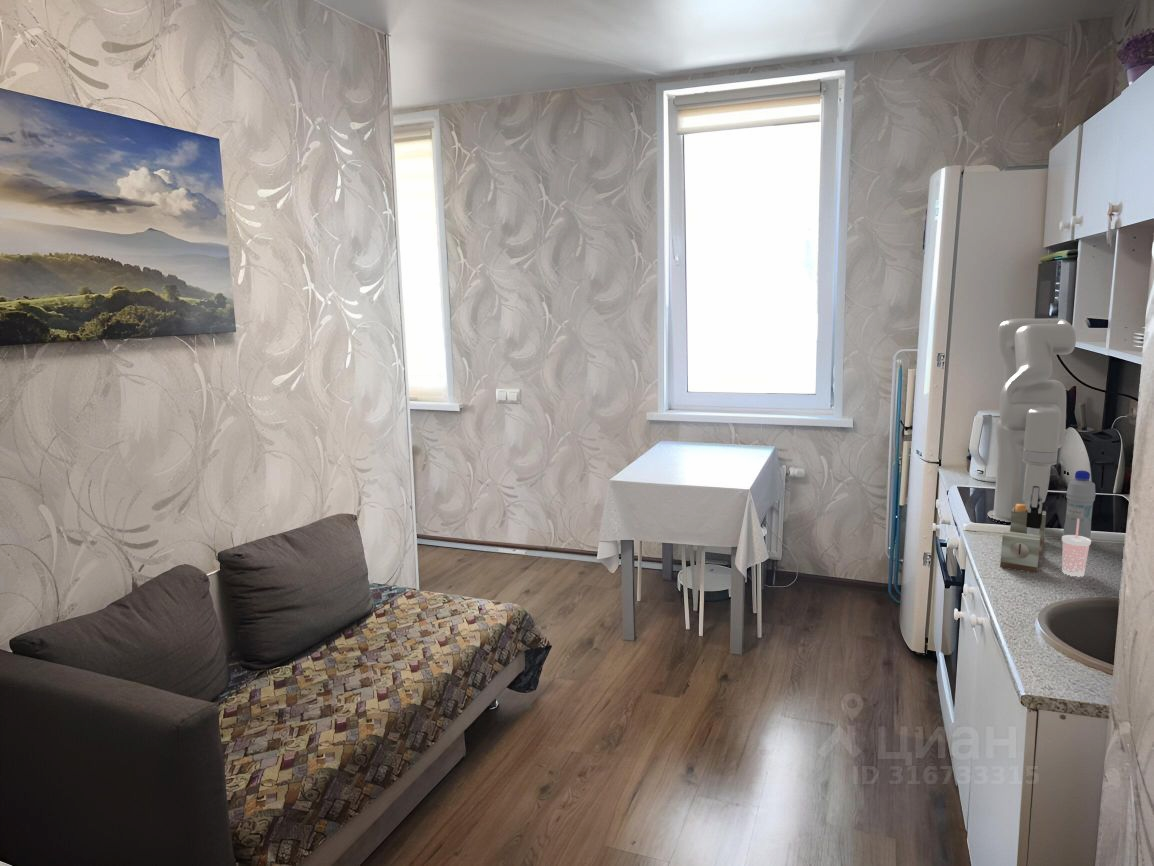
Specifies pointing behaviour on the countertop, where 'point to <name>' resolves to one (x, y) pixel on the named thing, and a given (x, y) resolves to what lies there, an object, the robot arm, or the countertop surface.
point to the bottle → (1079, 504)
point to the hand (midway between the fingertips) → (1033, 525)
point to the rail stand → (1021, 544)
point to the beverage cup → (1075, 553)
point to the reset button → (1020, 507)
